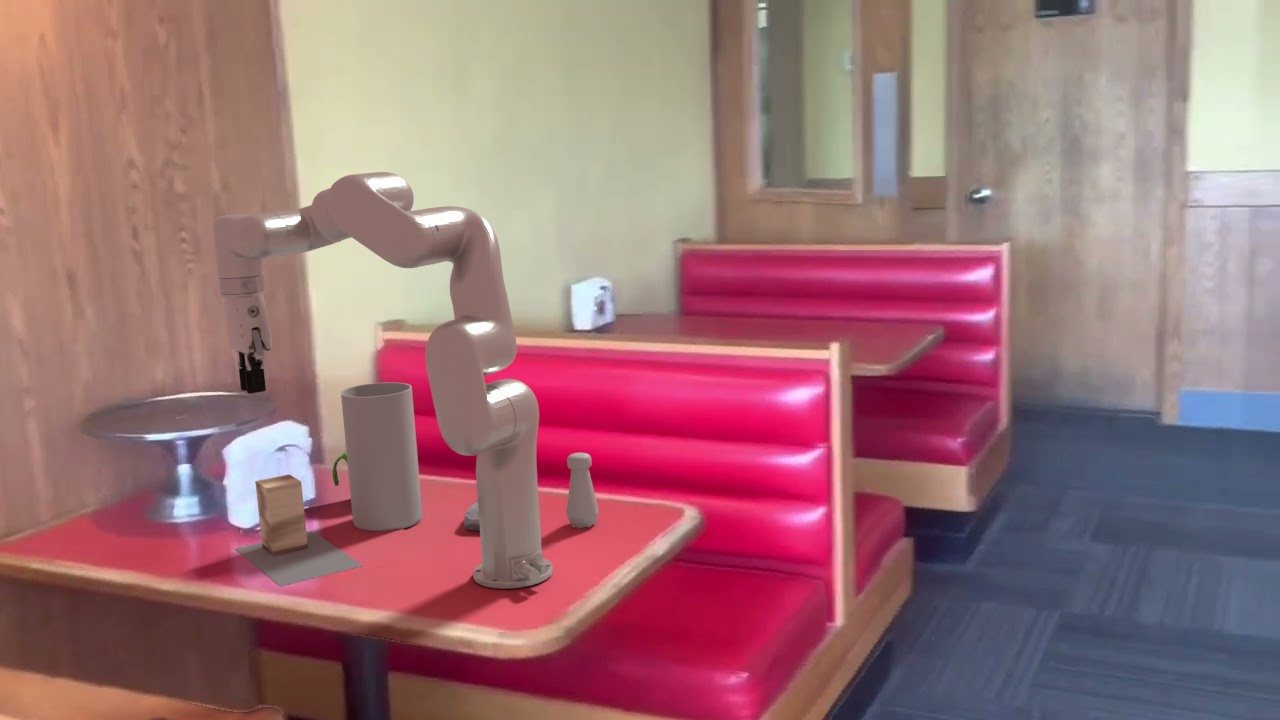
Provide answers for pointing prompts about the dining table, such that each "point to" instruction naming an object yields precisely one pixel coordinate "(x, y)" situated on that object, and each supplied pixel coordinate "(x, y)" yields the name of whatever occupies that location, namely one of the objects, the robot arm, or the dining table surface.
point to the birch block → (281, 514)
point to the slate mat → (300, 561)
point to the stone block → (472, 518)
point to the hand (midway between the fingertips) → (253, 390)
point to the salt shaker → (581, 492)
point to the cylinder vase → (382, 456)
